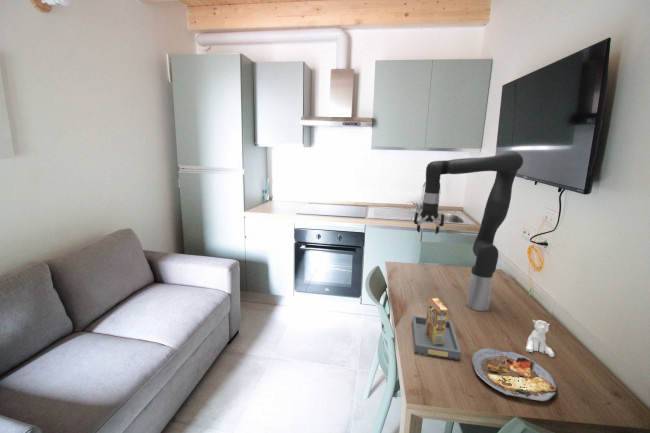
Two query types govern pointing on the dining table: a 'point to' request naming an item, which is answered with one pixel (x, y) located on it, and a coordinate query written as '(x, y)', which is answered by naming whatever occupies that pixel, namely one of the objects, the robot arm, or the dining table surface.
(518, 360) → the food plate
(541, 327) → the sitting furry creature
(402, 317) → the dining table surface
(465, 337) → the dining table surface
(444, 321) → the candy box
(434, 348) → the labelled tray
